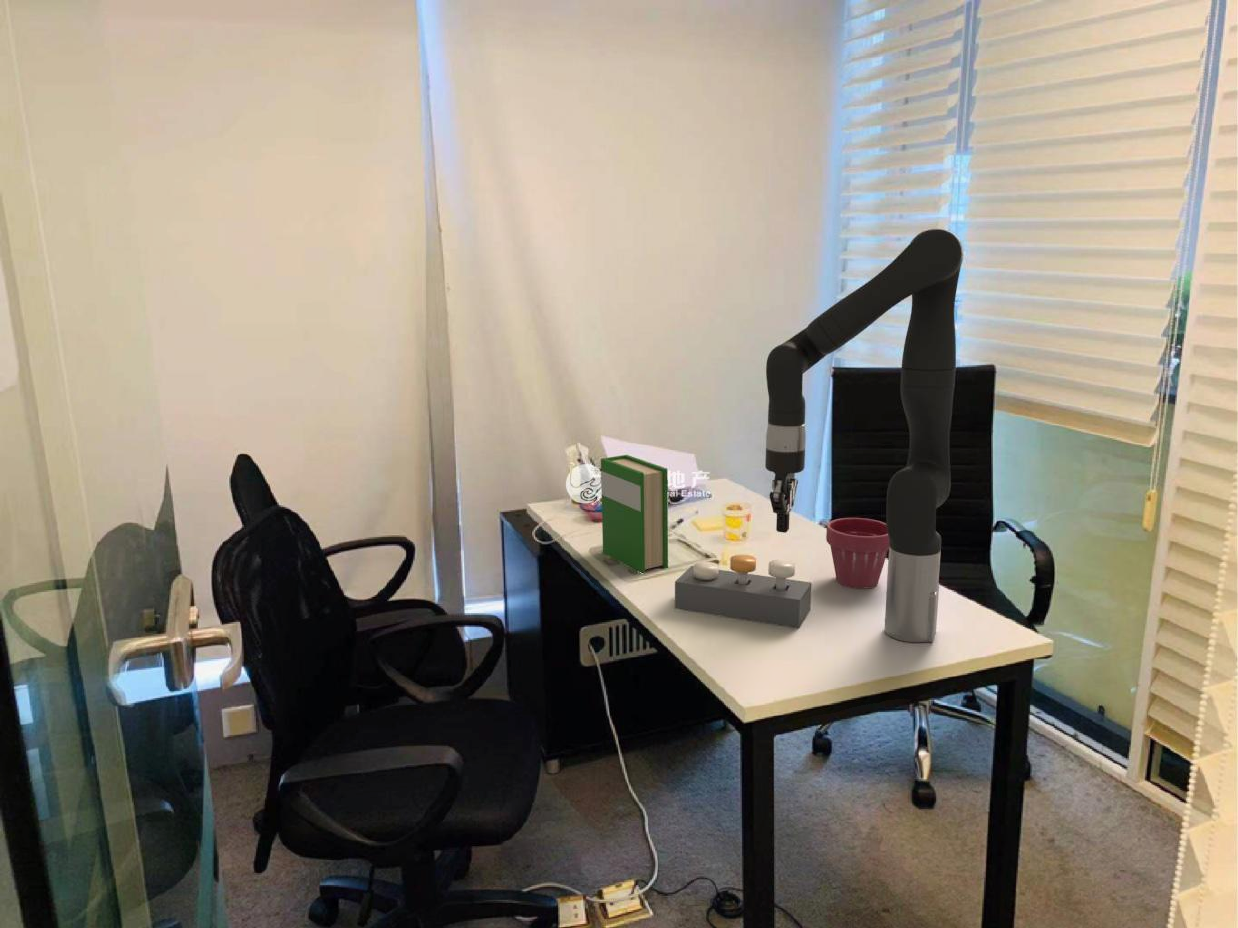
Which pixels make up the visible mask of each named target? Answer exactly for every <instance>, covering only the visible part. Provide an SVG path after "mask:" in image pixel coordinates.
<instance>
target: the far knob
mask: <svg viewBox="0 0 1238 928" xmlns="http://www.w3.org/2000/svg"><path fill="white" fill-rule="evenodd" d="M692 566H693V576H694V577H695V578H698V579H703V580H711V579H715V578H717V577H718V570H719V565H718V564H717V563H714V562H712V561H699V562H696V563H694V564H693V565H692Z"/></svg>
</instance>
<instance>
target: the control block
mask: <svg viewBox="0 0 1238 928" xmlns="http://www.w3.org/2000/svg"><path fill="white" fill-rule="evenodd" d="M693 566H694V565H691V566H690V567H688V568H687V570H685V572H683V573H682V574H681V576H679V577H678V578H677V579H676V580H675V581H674V609H676V610H680V611H686V612H692V613H693V612H694V613H700V614H705V615H712V616H718V617H726V618H731V619H738V620H743V621H750V622H756V623H763V624H769V625H775V626H781V627H787V628H793V629H800V628H801V626H802V624H803V623H804V621H805V620H806V618H807V617H808V615H809V613H810V611H811V608H812V607H811V604H812V601H811V600H812V582H809V581H804V580H796V579H790V578H786V591H782V590H776V577H773V576H767V575H761V574H753V573H748V585H741V584H738V572H735V571H732V570H731V571H730V570H724V569H718V577H717V578H715V579H711V580H703V579H698V578H695V577H694V576H693Z"/></svg>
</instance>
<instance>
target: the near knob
mask: <svg viewBox="0 0 1238 928" xmlns="http://www.w3.org/2000/svg"><path fill="white" fill-rule="evenodd" d="M795 573H796V564H795V562H793V561H792V560H787V559H774V560H771V561H769V562H768V575H769V576H770V577H775V578H776V590H782V591H786V579H790V578H792V577H794V576H795V575H796V574H795Z"/></svg>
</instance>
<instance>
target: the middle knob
mask: <svg viewBox="0 0 1238 928" xmlns="http://www.w3.org/2000/svg"><path fill="white" fill-rule="evenodd" d="M729 560H730V561H729V562H730V564H729V565H730V567H729V568H730V570H731V571H732V572H738V584H741V585H748V574H749V573H753V572H754V571H756V569H757V558H756V557H754V556H752V555H749V554H736V555H732V556H731V557H730V559H729Z"/></svg>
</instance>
